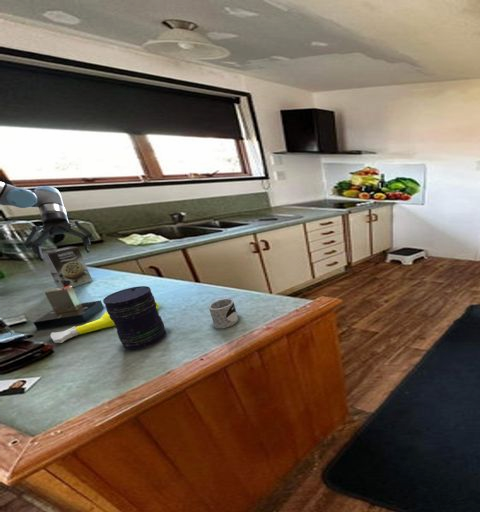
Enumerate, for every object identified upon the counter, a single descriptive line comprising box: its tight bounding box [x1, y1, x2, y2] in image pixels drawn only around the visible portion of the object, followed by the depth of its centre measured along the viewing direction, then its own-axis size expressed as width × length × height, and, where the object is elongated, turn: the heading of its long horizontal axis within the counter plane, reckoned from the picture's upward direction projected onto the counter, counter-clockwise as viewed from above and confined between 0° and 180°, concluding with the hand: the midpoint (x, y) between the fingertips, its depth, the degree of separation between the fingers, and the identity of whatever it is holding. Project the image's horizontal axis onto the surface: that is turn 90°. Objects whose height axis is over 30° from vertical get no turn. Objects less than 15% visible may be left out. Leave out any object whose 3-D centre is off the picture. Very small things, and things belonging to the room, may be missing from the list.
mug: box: [208, 297, 239, 329], centre depth 86 cm, size 10×7×7 cm, turn 9°
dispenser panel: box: [32, 300, 105, 331], centre depth 91 cm, size 12×10×3 cm
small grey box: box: [44, 286, 82, 314], centre depth 89 cm, size 6×2×8 cm, turn 109°
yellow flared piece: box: [50, 300, 160, 344], centre depth 88 cm, size 3×11×24 cm
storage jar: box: [102, 285, 168, 352], centre depth 76 cm, size 10×10×15 cm
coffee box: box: [41, 246, 94, 288], centre depth 115 cm, size 9×6×16 cm
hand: (65, 255), depth 117 cm, fingers open, 13 cm apart
